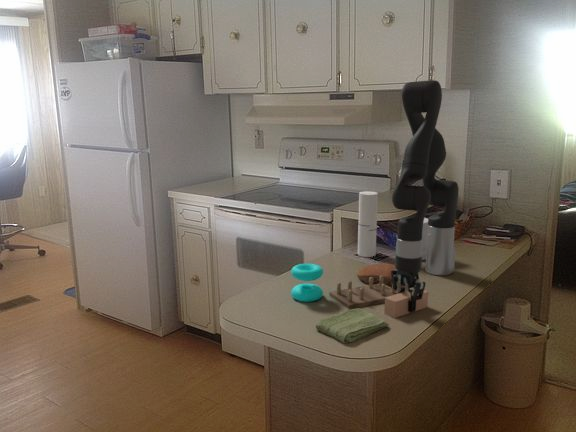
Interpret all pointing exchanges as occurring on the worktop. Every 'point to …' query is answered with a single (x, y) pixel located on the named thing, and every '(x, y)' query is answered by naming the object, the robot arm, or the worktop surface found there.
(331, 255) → the worktop surface
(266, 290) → the worktop surface
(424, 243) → the supplement box
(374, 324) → the washcloth
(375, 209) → the cylindrical container
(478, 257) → the worktop surface
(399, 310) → the pinkish tan rectangular block
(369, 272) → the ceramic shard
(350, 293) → the drying rack
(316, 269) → the donuts
